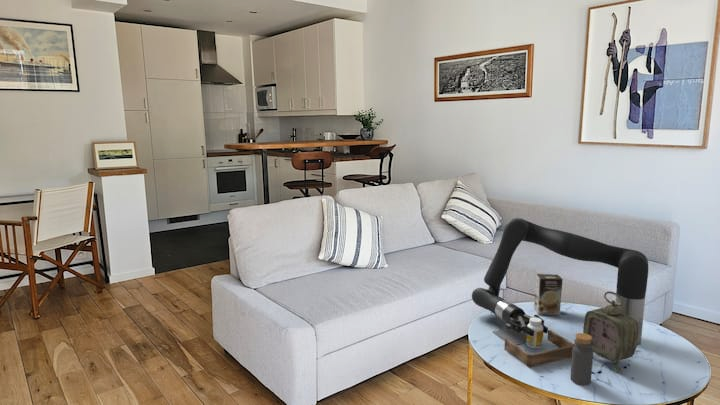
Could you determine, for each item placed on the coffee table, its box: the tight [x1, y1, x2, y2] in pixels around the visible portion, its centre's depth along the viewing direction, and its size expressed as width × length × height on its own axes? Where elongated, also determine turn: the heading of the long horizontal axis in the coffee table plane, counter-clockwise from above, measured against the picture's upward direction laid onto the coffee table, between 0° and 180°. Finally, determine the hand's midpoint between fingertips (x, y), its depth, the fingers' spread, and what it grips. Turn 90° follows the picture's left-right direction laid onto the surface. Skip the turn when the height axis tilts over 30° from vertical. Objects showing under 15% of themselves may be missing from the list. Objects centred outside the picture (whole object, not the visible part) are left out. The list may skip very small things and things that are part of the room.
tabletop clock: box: [582, 291, 638, 373], centre depth 154 cm, size 14×9×25 cm, turn 23°
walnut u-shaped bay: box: [504, 329, 575, 368], centre depth 163 cm, size 13×20×4 cm, turn 109°
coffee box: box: [533, 273, 564, 316], centre depth 195 cm, size 9×6×16 cm
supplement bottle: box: [525, 316, 544, 349], centre depth 165 cm, size 5×5×10 cm
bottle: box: [570, 332, 594, 386], centre depth 145 cm, size 6×6×15 cm
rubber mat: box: [491, 327, 527, 346], centre depth 176 cm, size 12×12×1 cm
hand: (540, 332), depth 163 cm, fingers closed on supplement bottle, 5 cm apart
